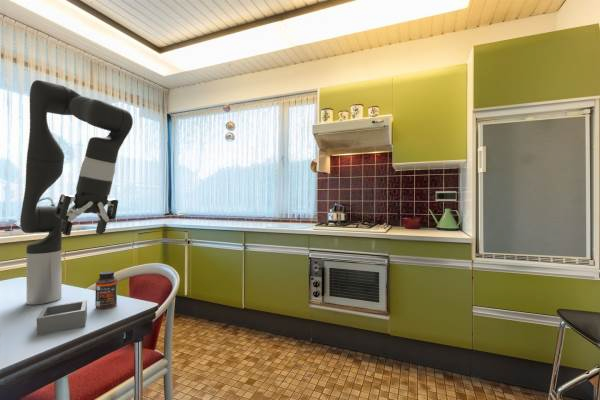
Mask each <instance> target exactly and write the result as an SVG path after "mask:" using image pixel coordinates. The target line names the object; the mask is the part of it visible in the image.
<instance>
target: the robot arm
mask: <svg viewBox="0 0 600 400" xmlns="http://www.w3.org/2000/svg"><path fill="white" fill-rule="evenodd" d="M48 113H49V114H55V115H61V116H73V117H75V118H77V120H80V121H82V122H85V123H87V124H88V125H90V126H93V127H95V128H99V129H101V130H105V131H109V133H108V135H107V136H104V137H99V136H92V137H90V138H89V140H88V143H87V146H86V151H85V155H84V159H83V161H82V163H81V166H80V171H79V176H78V180H77V184H76V188H75V189H76V191H75V194H74V195H67V194H65V193H63V194H61V195H60V196H59V199H58V202H57V205H55V206H54V205H53V206H52V205H47V206H45V205H41V206H40V205H38V203H39V201H40V199H41V197H42V196H43V194H45V192H46V191H48V189H49V188H50V187H52V185H54V184H55V183H56V182H57V181H58V179H59V178H60V177H61V176H62V175H63V171H64V170H63V169H64V163H65V162H64V161H65V154H64V152H63V151H64V150H63V149H62V146H61V145H60V144H59V142H58V141H57V139H56V138H55V136H54V135H53V133H52V131H51V130H50V127H49V124H48V116H47V115H48ZM133 121H134V119H133V116H132V114H131V112H129V110H127V109H125V108H121V107H120V106H117V105H113V104H112V103H110V102H106V101H103V100H100V99H96V98H91V97H88V96H83V95H82V94H80V93H78V92H77V91H75V90H74V89H72V88H70V87H68V86H66V85H62V84H57V83H52V82H48V81H43V80H39V79H38V80H37V79H36V80H34V81H33V82H32V84H31V85H30V90H29V135H28V136H29V137H28V146H27V151H26V162H25V163H26V164H25V185H24V186H25V187H24V193H23V199H22V205H21V212H20V217H19V218H20V221H19V223H20V230H21V231H22V232H23V233H26V234H36V233H37V234H39V233H47V235H46V236H45V237H44V238H42V239H40V240H37V241H35V242H34V241H33V242H31V243H28V245H27V246H26V250H25V251H26V254H25V255H26V257H25V258H26V262H25V263H26V294H25V296H26V304H27V305H32V306H33V305H43V304H48V303H53V302H56V301H58V300H60V299H62V240H63V239H62V237H63V235H64V236H71V232H72V229H73V228H72V227H73V224H74V221H73V220H75V219H76V218H77V217H78V216H81V215H83V214H90V213H91V214H96V215H97V217H98V218H99V219H98V220H97V225H96V229H95V232H96V234H98V235H103V234H104V233H105V231H106V228H107V225H108V222H109V221H110V220H111V221H112V220H115V219H116V217H117V210H118V207H119V206H118V205H119V200H118V199H115V198H113V197H111V198H109V197H108V196H110V194H111V189H112V185H113V182H114V181H113V180H114V175H115V172H116V163H117V160H118V159H117V158H118V154H119V150H120V149H121V147H122V145H123V143H124V141H125V140H126V138H127V136H128V135H129V133H130V132H131V130H132V127H133V125H134V124H133V123H134V122H133ZM72 203H74V204H73V205H71V204H72ZM70 205H71V207H70ZM106 206H107V209H105V207H106ZM69 207H70V208H69Z"/></svg>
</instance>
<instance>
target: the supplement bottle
mask: <svg viewBox="0 0 600 400" xmlns="http://www.w3.org/2000/svg"><path fill="white" fill-rule="evenodd" d="M98 277H99V278H98V279H97V280H96V281H95V301H94V302H95V304H94V306H95V308H96V309H98V310H107V309H112V308H114V307H116V305H118V278H117V277H116V276H115V272H114V271H112V270H110V271H108V270H107V271H103V272H102V271H101V272H99V276H98Z"/></svg>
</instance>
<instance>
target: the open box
mask: <svg viewBox="0 0 600 400" xmlns="http://www.w3.org/2000/svg"><path fill="white" fill-rule="evenodd" d="M87 317H88V300H87V299H84V300H80V301H74V302H68V303H60V304H56V305H49V306H43V307H42V309H41V310H40V312H39V314H38V316H37V318H36V337H40V336H44V335H49V334H54V333H59V332H65V331H69V330H74V329H80V328H84V327H86V322H87Z"/></svg>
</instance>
